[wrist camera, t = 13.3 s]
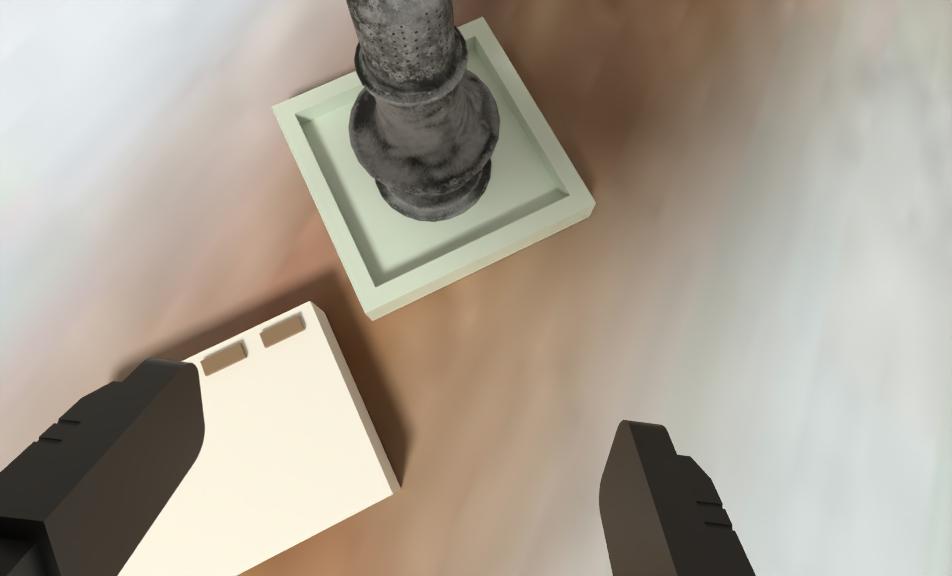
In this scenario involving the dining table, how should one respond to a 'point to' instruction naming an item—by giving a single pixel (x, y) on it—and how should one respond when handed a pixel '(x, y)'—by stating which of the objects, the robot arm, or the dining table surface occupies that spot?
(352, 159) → the tray
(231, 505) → the board
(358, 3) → the grey stone rounded piece
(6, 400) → the dining table surface
